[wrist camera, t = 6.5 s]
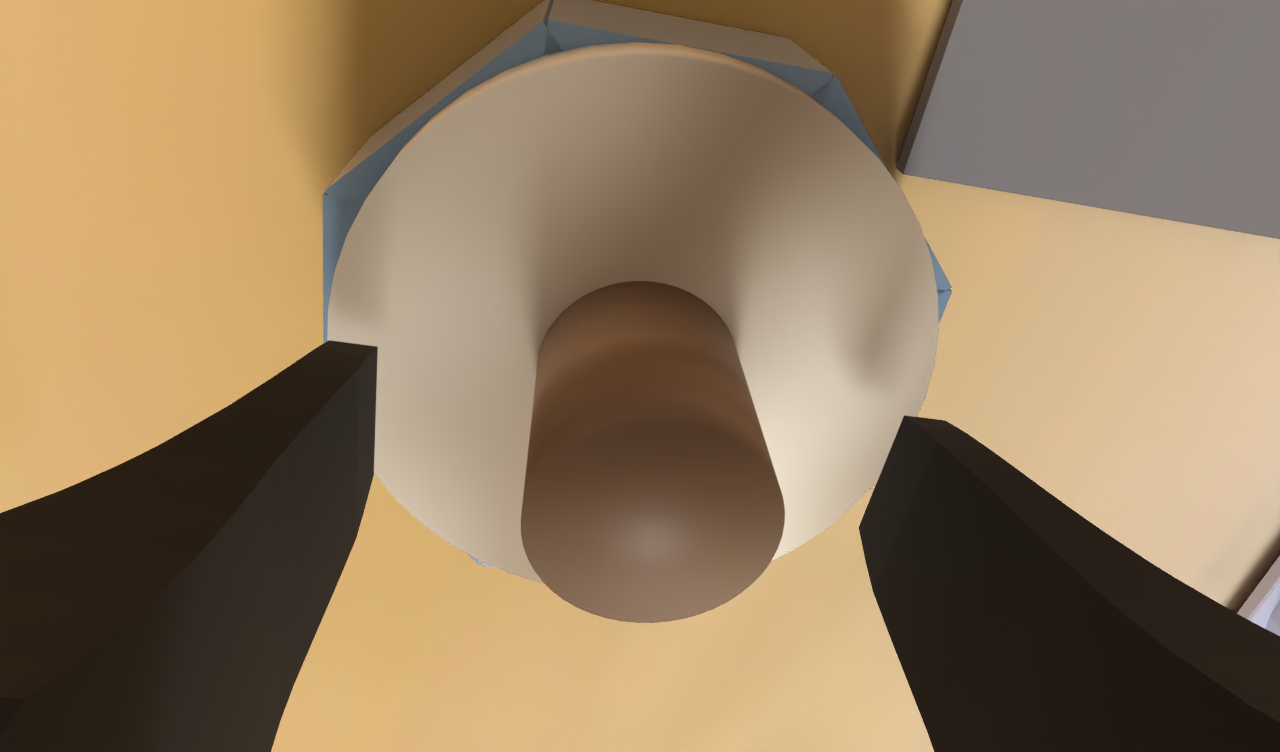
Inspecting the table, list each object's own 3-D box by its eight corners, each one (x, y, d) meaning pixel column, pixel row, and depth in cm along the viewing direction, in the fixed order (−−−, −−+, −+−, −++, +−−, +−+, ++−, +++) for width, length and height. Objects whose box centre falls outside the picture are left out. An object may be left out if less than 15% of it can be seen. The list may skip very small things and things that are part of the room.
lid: (1017, 136, 12) (1221, 256, 8) (799, 587, 16) (864, 806, 12) (378, -42, 10) (254, 3, 7) (322, 508, 15) (228, 732, 11)
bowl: (946, 68, 14) (1025, 108, 12) (795, 503, 19) (828, 599, 17) (374, -43, 13) (321, -23, 11) (362, 454, 18) (324, 551, 15)
